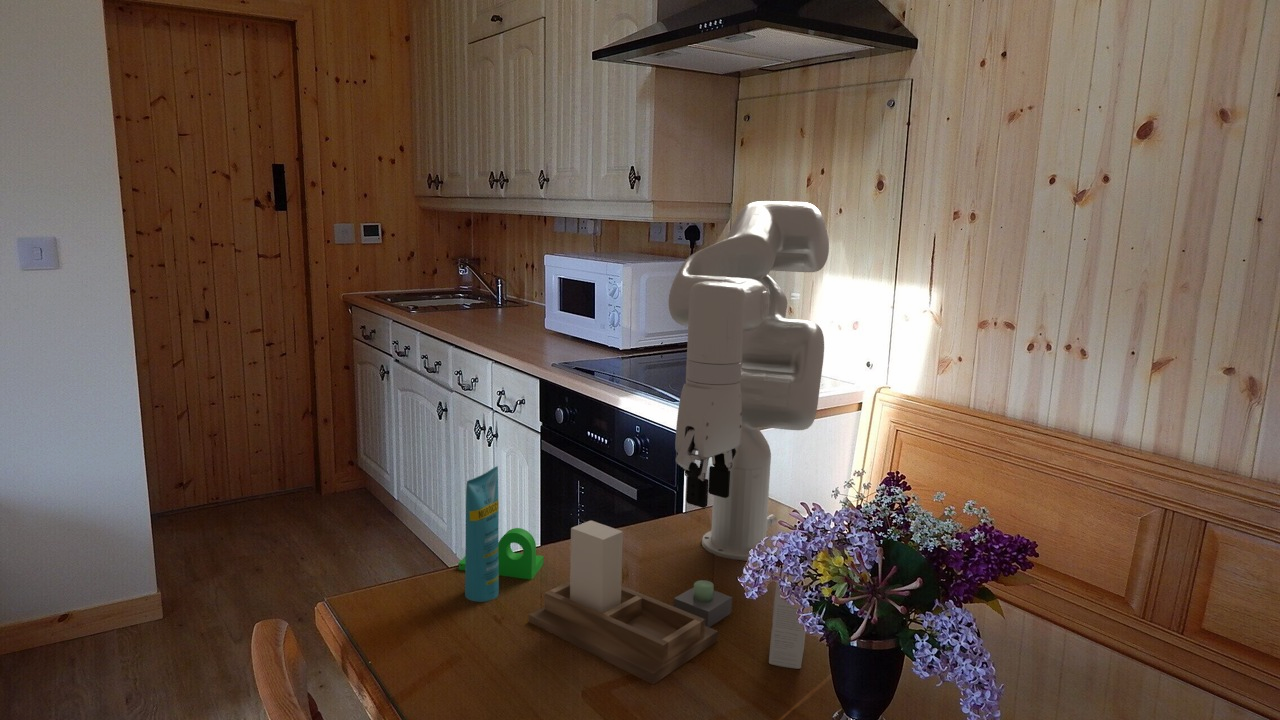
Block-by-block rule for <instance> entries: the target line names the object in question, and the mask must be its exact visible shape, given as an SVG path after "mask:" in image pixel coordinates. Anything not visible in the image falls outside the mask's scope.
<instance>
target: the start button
mask: <svg viewBox="0 0 1280 720" xmlns="http://www.w3.org/2000/svg"><path fill="white" fill-rule="evenodd" d="M693 587H694V599H695V600H697V601H699V602H710V601H712V600H713V590H714V583H713V581H712V582H711V581H709V580H705V579H704V580H703V579H702V580H701V579H700V580H697V581H695V582H694V583H693Z"/></svg>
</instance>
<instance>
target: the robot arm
mask: <svg viewBox="0 0 1280 720" xmlns="http://www.w3.org/2000/svg"><path fill="white" fill-rule="evenodd" d="M829 252H830V243H829V236H828V231H827V227H826V222H825V219H824V217H823V215H822V213H821V211H820V210H819V208H818V207H816V206H815V205H814V204H812V203H809V202H804V201H780V200H779V201H777V200H776V201H772V200H771V201H770V200H764V201H763V200H761V201H753V202H750V203H748V204H746V205H744V206H743V207H742V208H741V209H740V210H739V211H738V214H737V216H736V217H735V219H734V222H733V223H732V225H731V228H730V230H729V232H728V234H727V237H726V238H725V239H722V240H720V241H717V242H716V243H713V244H711V245H709V246H707V247H705V248H704V247H703V248H702V249H700V250H697V251H696V252H693V253H692V254H690V255H689V256H688V257H687V258H686V259H685V260H684V262H683V263H682V264H681V266H680V268H679V269H678V271H677V274H676V275H675V278H674V279H673V281H672V284H671V287H670V290H669V295H668V311H669V314H670V316H671V318H672V319H673V321H675V322H676V323H677V324H678V325H681V326H684V327H687V346H686V347H687V348H686V350H687V351H686V366H685V367H686V368H685V369H686V371H685V383H684V384H683V387H682V388H681V393H680V398H679V403H678V410H677V419H676V428H675V442H674V443H675V444H674V445H675V446H674V448H675V451H676V453H677V456H676V457H675V463H677V465H678V466H680V468H681V469H682V470H683V472H684V477H686V496H685V497H686V499H685V500H686V501H685V502H686V503H687V504H688V505H691V506H695V507H700V508H703V509H704V508H706V507H708V498H709V497H708V496H709V495H712V512H711V530H709V531H707V532H705V534H703V536H702V538H701V545H702V548H704V549H705V550H706V551H708V552H709V553H710V554H712V555H714V556H717V557H721V558H724V559H730V560H740V561H744V562H748V561H747V559H748V554H749V551H750V550H751V549H752V548H753V547H754V546H755V545H756V544H757V543H758V542H759V541H760V540H762V539H763V538H765V537H770V536H769V535H768V533H767V532H768V529H769V528H770V527H771V526H773V525H775V524H777V517H776V515H775V514H772V513H771V514H768V512H769V510H768V509H769V495H770V494H769V492H770V478H771V477H770V476H771V475H770V474H771V462H772V452H771V448H770V445H769V443H768V440H767V438H766V437H765V435H764V434H763V433H762V431H761V430H760V428H767V429H775V430H776V429H778V430H787V431H805V430H807V429H809V428H810V427H812V425H813V423H814V422H815V419H816V417H817V416H816V415H817V412H818V405H819V397H820V389H821V382H822V375H823V374H822V372H823V368H824V367H823V366H824V357H825V356H824V355H825V339H824V338H825V337H824V333H823V330H822V328H821V327H820V325H818V324H817V323H816V322H815V321H811V320H805V319H797V318H796V319H795V318H786V315H787V308H788V299H787V296H786V294H785V293H784V291H783V289H782V288H781V287H780V285H779V284H778V283H777V282H776V281H775V280H774V279H773V278H772V277H771V276H770V275H769V273H770V271H775V272H789V273H791V272H792V273H793V272H796V273H817V272H819V271H821V270H822V269H823V268H824V267H825V265H826V263H827V261H828V257H829ZM696 452H697V454H696ZM710 458H711V461H712V462H711V463H712V465H710V466H709V462H710ZM696 461H699V465H698V464H697V463H696ZM708 466H709V467H708ZM708 468H709V471H708ZM707 472H709V473H708V474H709V475H708V478H706V477H707Z"/></svg>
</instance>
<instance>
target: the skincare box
mask: <svg viewBox="0 0 1280 720" xmlns="http://www.w3.org/2000/svg"><path fill="white" fill-rule="evenodd" d="M772 611H773V612H772V622H771V631H770V632H771V633H770V634H771V635H770V643H769V644H770V645H769V653H768V663H769V664H770V665H773V666H777V667H783V668H788V669H795V670H796V669H798V670H800V669H801V668H802V664H803V663H802V662H803V656H804V650H805V649H804V648H805V641H806V632H804V630H803V628H802V626H801V625H800V624H799V622H798V620H797V617H796V612H797V607H795V606H792V605H790V604H787V603H786V602H784V601H783V600H782V599H781V597H780V592H779V586H778V583H777V582H776V581H775V592H774V599H773V610H772Z"/></svg>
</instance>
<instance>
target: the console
mask: <svg viewBox="0 0 1280 720" xmlns="http://www.w3.org/2000/svg"><path fill="white" fill-rule="evenodd" d="M673 607H676V608H678V609H681V610H683V611H686V612H688V613H691V614H693V615H696V616H698V617H701V618H703V619H705V626H707V627H709V628H712V626H714V625H715V624H717V623H718V622H720V621H722V620H724V618H727V617H728V616H729V615H731V614H732V612H733V608H732V607H733V597H732V596H730V595H727V594H725V593H724V592H723V593H722V592H719V591H717V590H715V589H713V600H712V601H710V602H699V601H697V600H695V599H694V586H693V587H691V588H690V589H687V590H686V591H684V592H683V593H681V594H679V595H676V596H675V597H674V598H673Z"/></svg>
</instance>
